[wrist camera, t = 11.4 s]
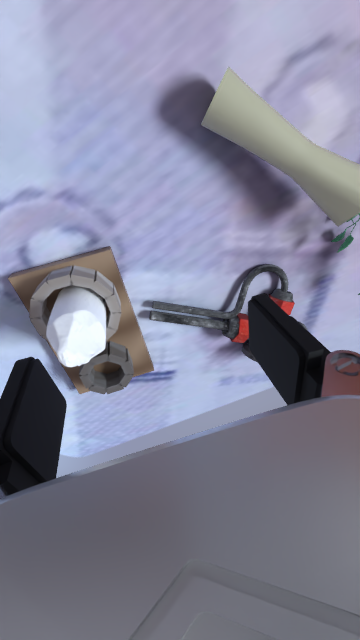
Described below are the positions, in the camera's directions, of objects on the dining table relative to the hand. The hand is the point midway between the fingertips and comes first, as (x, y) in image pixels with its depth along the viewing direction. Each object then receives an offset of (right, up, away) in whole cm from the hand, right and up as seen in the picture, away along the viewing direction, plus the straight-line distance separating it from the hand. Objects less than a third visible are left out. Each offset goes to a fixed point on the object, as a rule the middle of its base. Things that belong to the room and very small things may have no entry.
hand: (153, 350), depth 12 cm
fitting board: (-11, 0, +26) cm, 28 cm away
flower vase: (+18, +18, +23) cm, 35 cm away
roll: (-11, +4, +22) cm, 25 cm away
